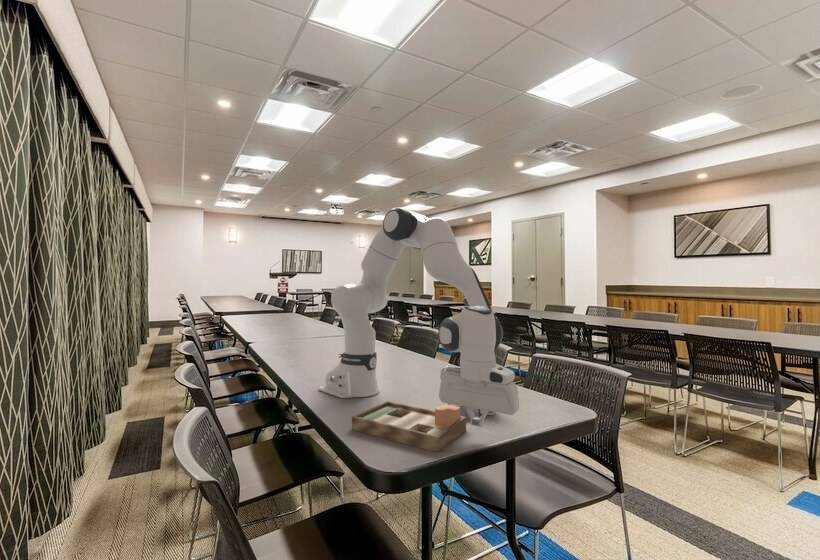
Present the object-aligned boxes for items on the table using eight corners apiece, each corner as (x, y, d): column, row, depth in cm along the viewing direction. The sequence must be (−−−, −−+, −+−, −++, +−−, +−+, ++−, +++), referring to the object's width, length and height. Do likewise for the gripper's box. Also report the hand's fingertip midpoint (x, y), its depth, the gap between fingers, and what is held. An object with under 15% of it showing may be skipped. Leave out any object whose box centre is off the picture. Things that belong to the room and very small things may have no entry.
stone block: (447, 425, 111) (481, 420, 110) (444, 408, 112) (478, 403, 110) (449, 413, 123) (480, 409, 121) (446, 398, 123) (477, 393, 122)
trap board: (351, 429, 101) (352, 416, 102) (387, 412, 116) (387, 401, 116) (437, 452, 88) (437, 437, 88) (466, 429, 102) (466, 417, 102)
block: (434, 424, 99) (434, 408, 99) (443, 418, 104) (443, 404, 104) (452, 428, 97) (452, 412, 97) (460, 422, 101) (460, 407, 101)
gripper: (435, 367, 99) (434, 421, 99) (513, 378, 88) (513, 438, 88) (445, 363, 104) (445, 414, 104) (521, 373, 94) (520, 429, 94)
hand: (477, 425), depth 96 cm, fingers closed
